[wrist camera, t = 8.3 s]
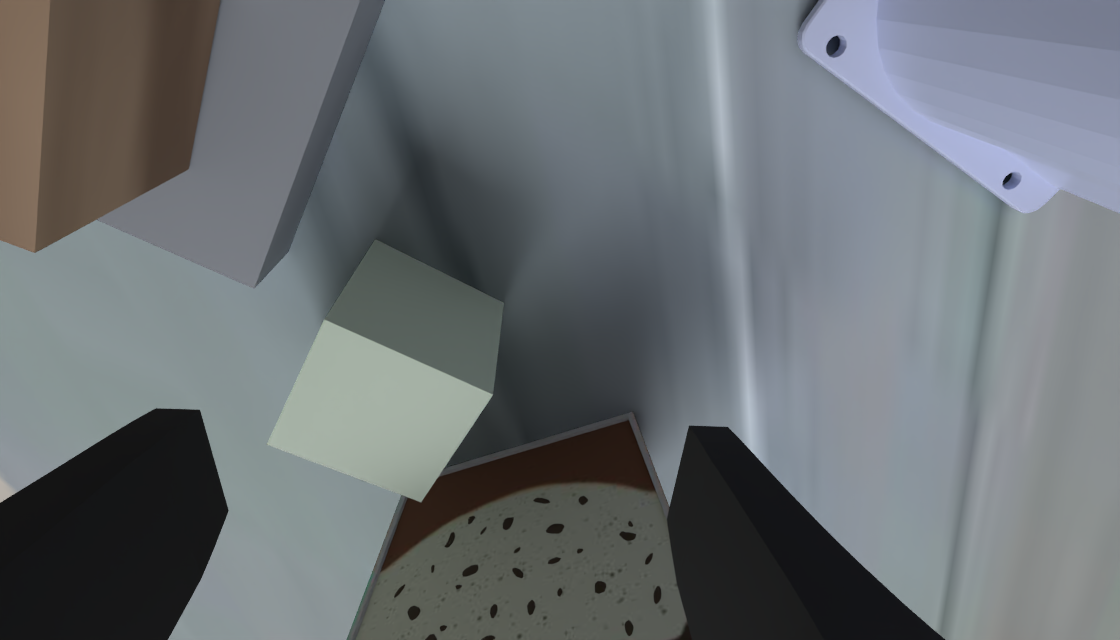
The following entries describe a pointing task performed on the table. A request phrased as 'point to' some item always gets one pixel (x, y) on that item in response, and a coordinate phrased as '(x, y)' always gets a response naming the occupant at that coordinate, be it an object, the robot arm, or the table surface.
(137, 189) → the walnut block
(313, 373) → the sage block
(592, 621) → the food container
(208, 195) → the base block
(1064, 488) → the table surface
